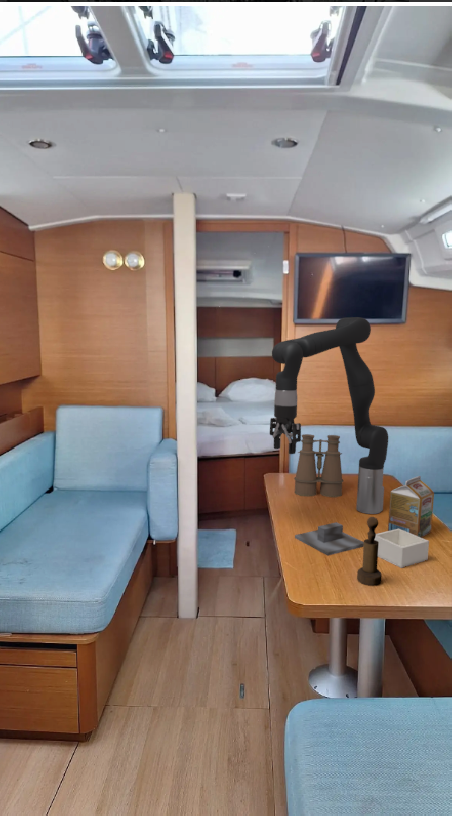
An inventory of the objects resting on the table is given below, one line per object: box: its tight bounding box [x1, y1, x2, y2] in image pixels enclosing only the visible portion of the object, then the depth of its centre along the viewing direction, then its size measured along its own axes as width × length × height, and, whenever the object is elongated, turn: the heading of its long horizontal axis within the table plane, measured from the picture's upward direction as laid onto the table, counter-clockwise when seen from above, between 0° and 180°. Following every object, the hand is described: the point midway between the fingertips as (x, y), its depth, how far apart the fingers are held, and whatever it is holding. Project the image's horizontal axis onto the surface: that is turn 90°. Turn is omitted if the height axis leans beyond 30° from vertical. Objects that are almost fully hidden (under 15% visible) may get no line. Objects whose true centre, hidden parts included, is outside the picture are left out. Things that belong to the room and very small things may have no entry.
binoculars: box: [293, 433, 344, 498], centre depth 224 cm, size 21×10×25 cm, turn 88°
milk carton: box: [387, 475, 435, 538], centre depth 182 cm, size 10×11×19 cm
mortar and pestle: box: [356, 516, 383, 587], centre depth 145 cm, size 7×6×18 cm
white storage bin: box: [374, 529, 430, 569], centre depth 162 cm, size 12×12×6 cm
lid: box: [294, 522, 364, 557], centre depth 172 cm, size 16×16×6 cm
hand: (284, 451), depth 177 cm, fingers open, 8 cm apart
